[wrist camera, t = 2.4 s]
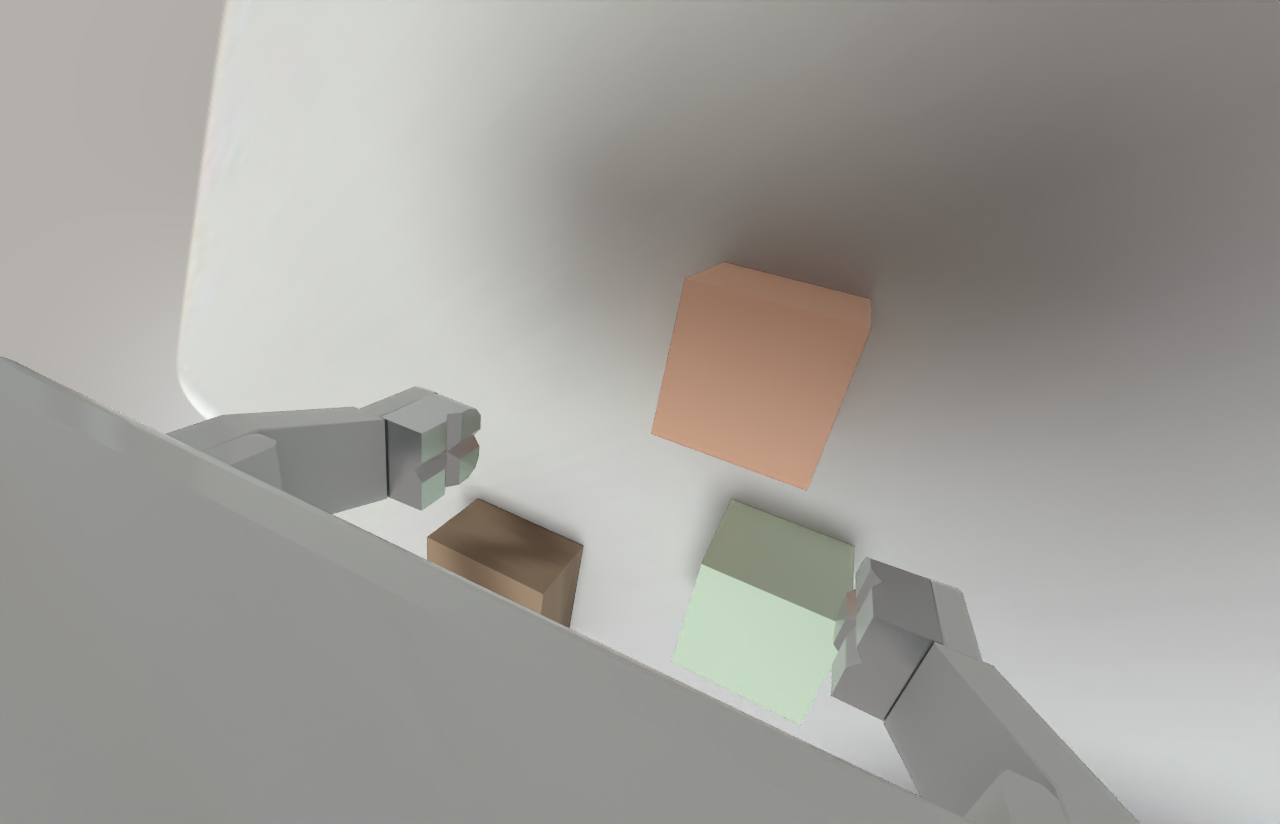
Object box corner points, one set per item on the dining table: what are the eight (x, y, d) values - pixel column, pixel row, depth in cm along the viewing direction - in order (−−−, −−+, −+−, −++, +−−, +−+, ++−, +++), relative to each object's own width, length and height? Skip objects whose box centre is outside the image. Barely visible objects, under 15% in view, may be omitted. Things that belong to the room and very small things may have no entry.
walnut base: (583, 546, 28) (543, 594, 25) (568, 634, 31) (530, 688, 28) (477, 498, 30) (427, 537, 26) (473, 586, 33) (427, 630, 30)
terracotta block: (870, 298, 18) (871, 328, 14) (819, 431, 21) (807, 490, 17) (724, 261, 20) (685, 278, 16) (692, 389, 22) (651, 433, 18)
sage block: (854, 545, 22) (851, 628, 18) (812, 633, 24) (800, 725, 20) (731, 497, 23) (701, 563, 19) (703, 585, 26) (671, 661, 22)
